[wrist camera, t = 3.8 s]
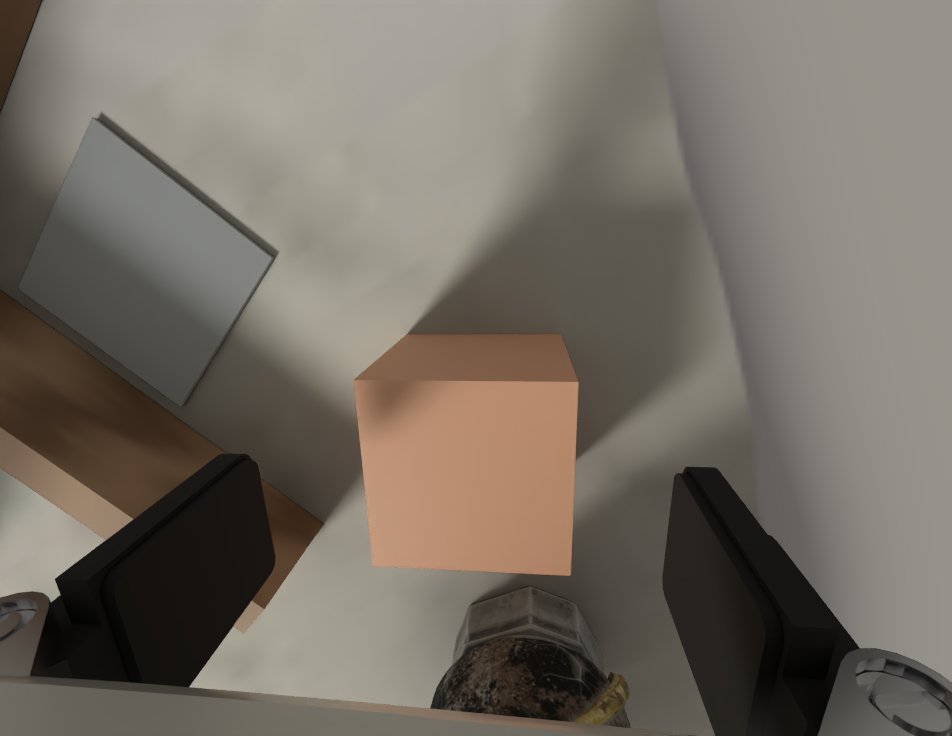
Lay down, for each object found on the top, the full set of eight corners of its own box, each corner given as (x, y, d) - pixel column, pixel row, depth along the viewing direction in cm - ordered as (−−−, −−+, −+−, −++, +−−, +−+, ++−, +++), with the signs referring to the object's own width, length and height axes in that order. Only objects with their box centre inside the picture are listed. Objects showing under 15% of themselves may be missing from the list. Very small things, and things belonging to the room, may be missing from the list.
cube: (560, 333, 18) (578, 381, 12) (556, 474, 19) (570, 575, 14) (407, 334, 18) (353, 380, 12) (416, 469, 20) (372, 565, 14)
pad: (274, 258, 18) (272, 258, 18) (183, 405, 20) (180, 406, 20) (97, 118, 17) (91, 117, 17) (22, 287, 19) (17, 288, 19)
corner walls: (557, 239, 16) (571, 242, 12) (306, 544, 21) (243, 633, 17) (56, -187, 14) (-174, -395, 10) (-95, 257, 19) (-298, 265, 15)
